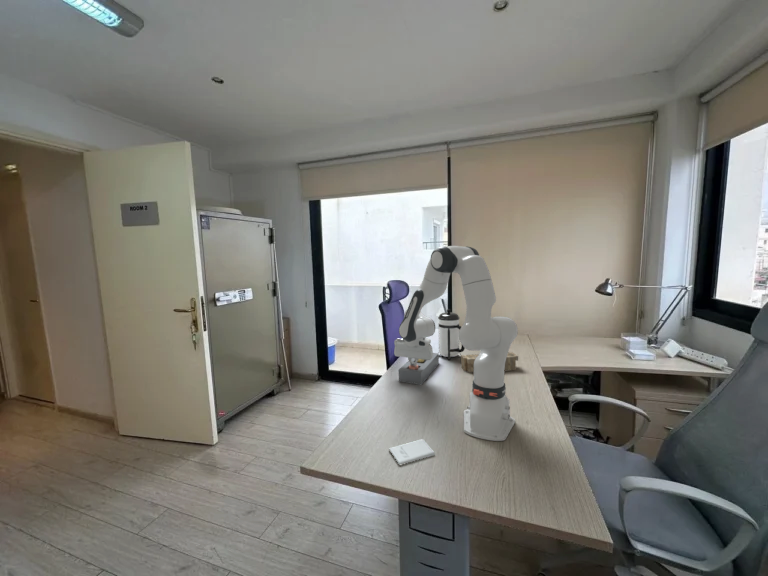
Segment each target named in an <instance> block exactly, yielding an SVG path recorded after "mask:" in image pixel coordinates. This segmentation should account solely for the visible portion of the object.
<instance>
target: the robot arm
mask: <svg viewBox="0 0 768 576" xmlns="http://www.w3.org/2000/svg"><path fill="white" fill-rule="evenodd" d="M452 273H455V274H458V275H459V277H460V280H461V286H462V291H463V294H464V299H465V305H466V312H465V317H464V318H465V319H464V321H463V324H462V326H461V328H460V329H459V343H460V344H461V347H462V346H463V347H464V348H465V349H464V350H468V351H473V352H474V351H475V352H478V351H479V355H478V356H477V358H476V359H475V361H474V369H473V370H474V372H473V380H472V385H471V388H472V391H471V392H469V393H468V394H469V395H468V396H469V405H467V408H466V409H464V410H463V432H464V433H465V434H467V435H469V436H471V437H474V438H477V439H482V440H485V441H486V440H487V441H495V442H502V441H505V440H506V439H507V437H508V436H509V434H510V433H511V432H510V431H511V430H512V428H513V427H514V425H515V423H516V419H515V418H514V417H512V416H511V409H510V408H511V405H510V402H511V401H510V399H509V398H508V396H507V395H506V389H507V387H506V382H505V371H504V369H505V361H506V357H507V354H508V352H509V350H510V348H511V345H512V344H513V342H514V340H515V339H516V338H517V337H518V333H519V330H518V329H519V328H518V325H517V323H516V321H515V320H513V318H510V317H507V316H500V315H499V316H493V317H492V309H493V306H494V305H495V303H496V301H497V295H496V292H495V287H494V285H493V280H492V275H491V272H490V270H489V268H488V264H487V263H486V261H485V258H483V257H482V256H481V255H480V253H479V252H478V250H477V249H476V248H474V247H471V246H461V245H448V246H439V247H437V248H435V249H433V251H432V252H431V254H430V259H429V261H428V263H427V265H426V268H425V271H424V275H423V278H422V281H421V283H420V285H419V287H418V288H417V289H416V290H415V291H414V292H413V294H412V296H411V299H410V301H409V305H408V307H407V310H405V312H404V314H403V315H404V317H403V319H402V320H401V322H400V324H399V328H398V333H399V337H401V338H398V337H397V338H395V339H394V343H393V344H394V351H393V353H394V356H395V357H398V358H399V357H401V358H407V361H409V362H410V366H414V367H416V366H417V361H418V360H419V359H423V360H431V359H432V358H433V353H434V352H433V351H434V350H433V346H432V345H431V342H432V341H431V339H430V338H429V337H433V335H434V334H435V333H436V324H435V321H434V320H433V319H432V318H431V317H428V316H426V315H425V314H423V313H422V308H424V307H425V306H426V305H427V304H428V303H430V302H432V301H434V300H436V299H438V298H440V297H442V296H443V295H444V293H445V292H446V291H447V290H446V289H447V288H448V283H449V280H450V276H451V274H452ZM412 358H415V360H416V361H415V362H412V360H411V359H412Z"/></svg>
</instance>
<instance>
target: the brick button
mask: <svg viewBox="0 0 768 576" xmlns="http://www.w3.org/2000/svg"><path fill="white" fill-rule="evenodd" d="M409 369H414V370H418V369H419V368H418V365H417V366H416V367H414V366H410V365H409Z"/></svg>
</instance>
